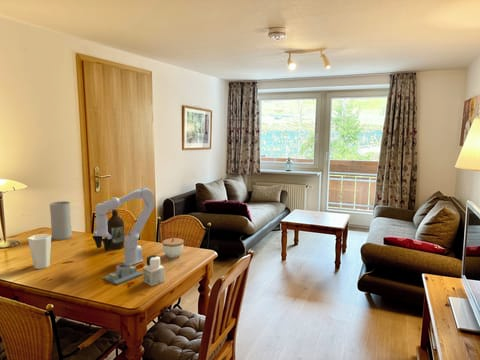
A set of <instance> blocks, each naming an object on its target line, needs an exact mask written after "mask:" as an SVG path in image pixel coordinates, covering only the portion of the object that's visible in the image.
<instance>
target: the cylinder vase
mask: <svg viewBox="0 0 480 360" xmlns="http://www.w3.org/2000/svg"><path fill="white" fill-rule="evenodd" d="M49 211H50V212H49V215H50V225H51V226H50V227H51V240H55V241H63V240H68V239H70V238H72V237H73V230H72V217H71V216H72V215H71V202H70V201H65V200H64V201H62V200H61V201H53V202H50V203H49Z"/></svg>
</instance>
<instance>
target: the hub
mask: <svg viewBox="0 0 480 360" xmlns="http://www.w3.org/2000/svg"><path fill="white" fill-rule="evenodd" d="M129 267H130V265H127V264H124V263H121V264H118V265H116V266H115V273H116V274H118V276H119V277H121V278H123V277H125V276H128V275H130V274H129Z"/></svg>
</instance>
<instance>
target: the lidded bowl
mask: <svg viewBox="0 0 480 360" xmlns="http://www.w3.org/2000/svg"><path fill="white" fill-rule="evenodd" d="M161 243H162V249H163V253H164V254H165V256H166V257H168V258H170V259H173V258H174V259H175V258H178V257H179V256H180V255H181V254H182V253H183V251H184V243H185V241H184V239H182V238H177V237H171V238H167V239H163V240H162V242H161Z"/></svg>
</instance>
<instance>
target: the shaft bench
mask: <svg viewBox="0 0 480 360" xmlns="http://www.w3.org/2000/svg"><path fill="white" fill-rule="evenodd" d="M137 269H138V268H137V266H133V265H129V274H130V275H128V276H125V277H123V278H121V277H119V276H118V274H116V272H114V271H113V272H111V273H109V275H108V274H107V275H105V276H103V277H102V278H103V280H105V281H108V282H110V283H112V284H114V285H117V286H118V285H121V284H124V283H127V282H128V281H131V280H134V279H136V278H139V277H142V276H143V272H141V271H139V270H137Z"/></svg>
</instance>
